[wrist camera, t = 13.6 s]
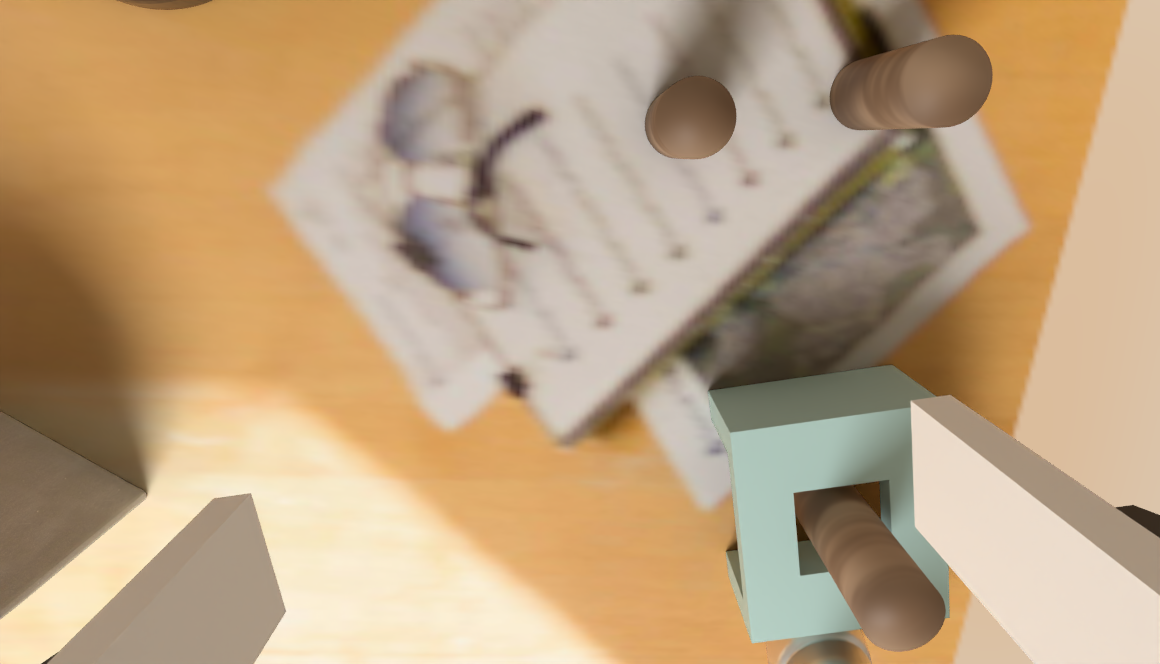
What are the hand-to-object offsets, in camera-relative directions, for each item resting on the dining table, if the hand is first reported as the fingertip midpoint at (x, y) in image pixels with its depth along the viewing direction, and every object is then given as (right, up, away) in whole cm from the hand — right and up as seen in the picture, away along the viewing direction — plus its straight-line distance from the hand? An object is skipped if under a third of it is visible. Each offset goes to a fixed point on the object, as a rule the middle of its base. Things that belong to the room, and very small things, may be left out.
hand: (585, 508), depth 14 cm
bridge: (+15, -6, +35) cm, 38 cm away
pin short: (+6, +16, +29) cm, 33 cm away
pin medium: (+17, +17, +28) cm, 37 cm away
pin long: (+15, -6, +35) cm, 38 cm away
